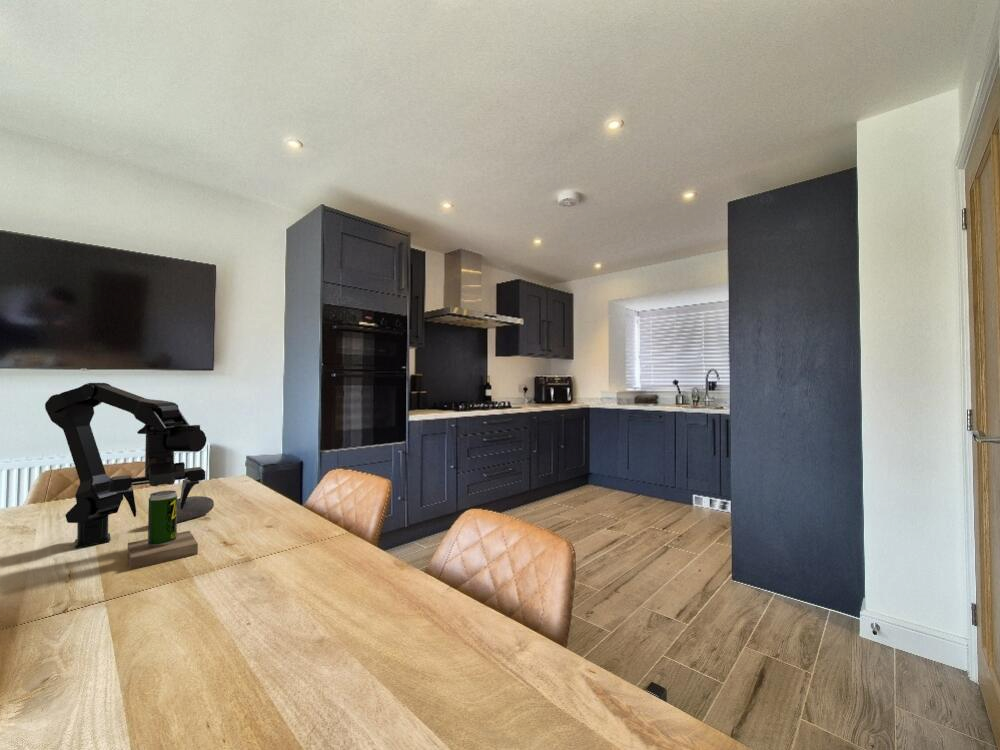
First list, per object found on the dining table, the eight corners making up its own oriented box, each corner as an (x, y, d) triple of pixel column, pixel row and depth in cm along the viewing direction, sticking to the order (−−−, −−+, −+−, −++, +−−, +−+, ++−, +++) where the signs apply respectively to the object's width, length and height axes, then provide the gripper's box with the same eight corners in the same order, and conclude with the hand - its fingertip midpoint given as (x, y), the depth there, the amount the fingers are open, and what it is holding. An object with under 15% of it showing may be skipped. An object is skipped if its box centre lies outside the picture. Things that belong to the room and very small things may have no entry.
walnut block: (127, 553, 100) (127, 543, 100) (189, 540, 108) (189, 530, 108) (131, 569, 91) (131, 558, 91) (197, 553, 100) (197, 543, 100)
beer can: (146, 549, 96) (147, 497, 97) (149, 542, 101) (150, 492, 101) (175, 544, 99) (176, 493, 100) (177, 537, 104) (177, 489, 104)
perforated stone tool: (210, 511, 133) (210, 489, 133) (218, 514, 130) (218, 492, 130) (151, 525, 120) (152, 501, 120) (158, 528, 117) (159, 504, 117)
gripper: (110, 460, 94) (109, 529, 94) (209, 451, 107) (208, 511, 107) (109, 454, 102) (108, 517, 102) (202, 446, 115) (201, 502, 115)
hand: (158, 512), depth 106 cm, fingers open, 9 cm apart
